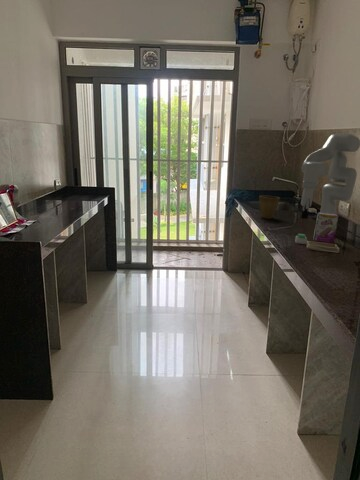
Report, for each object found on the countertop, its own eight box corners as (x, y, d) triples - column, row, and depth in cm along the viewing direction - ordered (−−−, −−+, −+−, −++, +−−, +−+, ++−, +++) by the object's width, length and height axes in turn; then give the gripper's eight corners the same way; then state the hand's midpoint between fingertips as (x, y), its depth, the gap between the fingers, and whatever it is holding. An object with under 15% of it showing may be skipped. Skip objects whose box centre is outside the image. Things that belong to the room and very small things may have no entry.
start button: (297, 238, 206) (298, 233, 205) (304, 238, 205) (304, 234, 204) (297, 239, 202) (298, 234, 201) (304, 240, 201) (305, 235, 201)
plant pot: (277, 220, 261) (280, 198, 257) (257, 218, 263) (259, 197, 259) (275, 216, 275) (278, 196, 271) (256, 214, 277) (258, 194, 273)
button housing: (295, 240, 207) (295, 235, 206) (305, 241, 206) (305, 236, 205) (295, 243, 202) (296, 237, 201) (306, 244, 201) (306, 239, 200)
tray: (305, 244, 200) (306, 240, 200) (335, 248, 197) (336, 244, 196) (307, 249, 191) (308, 245, 191) (338, 252, 188) (339, 248, 187)
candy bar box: (313, 241, 208) (318, 213, 204) (312, 239, 213) (317, 212, 209) (334, 243, 206) (339, 215, 201) (332, 241, 210) (337, 214, 206)
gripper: (301, 183, 203) (296, 215, 208) (303, 186, 189) (298, 220, 194) (315, 184, 202) (309, 216, 206) (318, 187, 187) (312, 221, 192)
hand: (304, 218), depth 200 cm, fingers closed
